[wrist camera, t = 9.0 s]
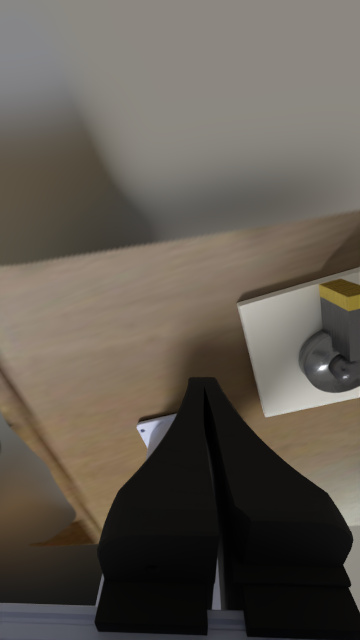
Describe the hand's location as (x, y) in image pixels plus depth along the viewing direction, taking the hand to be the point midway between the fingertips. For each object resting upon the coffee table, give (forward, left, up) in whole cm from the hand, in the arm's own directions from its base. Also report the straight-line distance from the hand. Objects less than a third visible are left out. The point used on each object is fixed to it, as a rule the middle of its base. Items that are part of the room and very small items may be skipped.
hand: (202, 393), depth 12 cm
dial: (-4, -11, -9) cm, 15 cm away
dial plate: (-6, -11, -10) cm, 16 cm away
